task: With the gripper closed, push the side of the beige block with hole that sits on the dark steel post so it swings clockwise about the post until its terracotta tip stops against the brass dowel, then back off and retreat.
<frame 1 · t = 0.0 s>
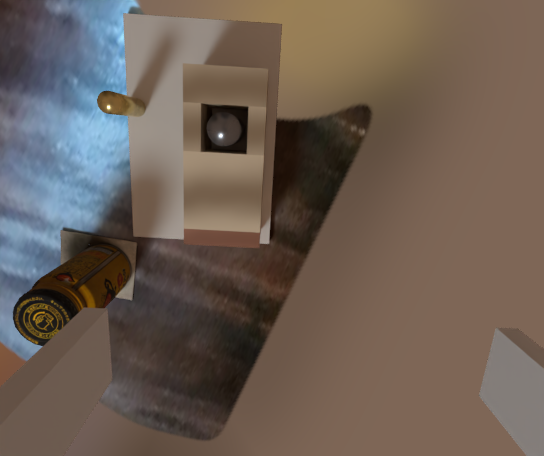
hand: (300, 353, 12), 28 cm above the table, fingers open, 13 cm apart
base board: (203, 137, 37), on the table
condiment: (99, 264, 41), on the table
beige block with hole: (227, 159, 34), point 4 cm above the table, hinge at 0.0°
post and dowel: (232, 129, 37), resting on base board
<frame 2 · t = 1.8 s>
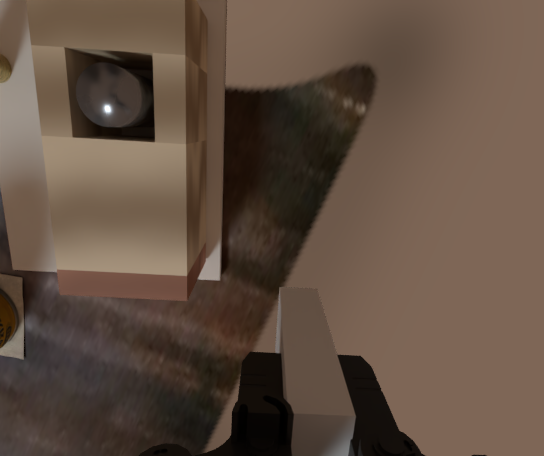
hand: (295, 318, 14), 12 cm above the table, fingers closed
base board: (111, 118, 24), on the table
beige block with hole: (136, 151, 20), point 4 cm above the table, hinge at 0.0°
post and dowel: (156, 105, 24), resting on base board
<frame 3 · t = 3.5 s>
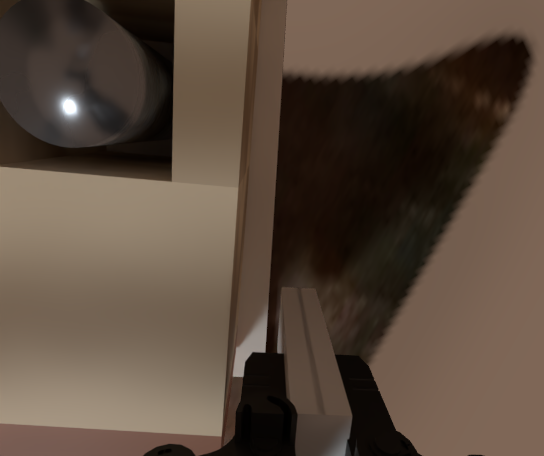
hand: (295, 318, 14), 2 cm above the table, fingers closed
base board: (92, 124, 14), on the table
beige block with hole: (131, 186, 11), point 4 cm above the table, hinge at 1.9°, touching gripper
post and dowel: (166, 103, 14), resting on base board
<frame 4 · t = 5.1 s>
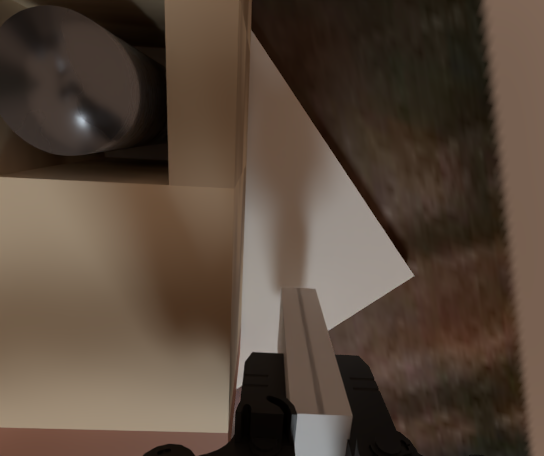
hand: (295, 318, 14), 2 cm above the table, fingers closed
base board: (123, 171, 15), on the table
beige block with hole: (130, 191, 11), point 4 cm above the table, hinge at 39.0°, touching gripper
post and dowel: (162, 107, 14), resting on base board
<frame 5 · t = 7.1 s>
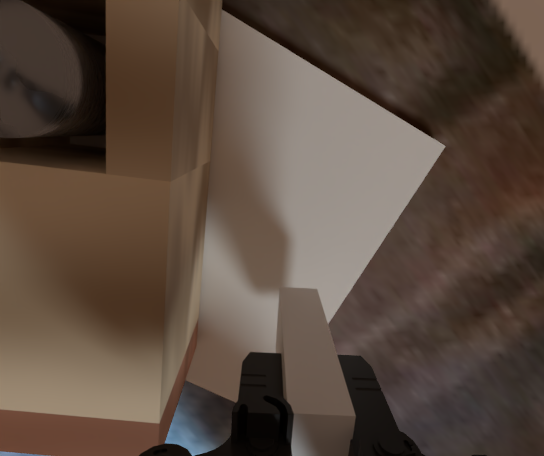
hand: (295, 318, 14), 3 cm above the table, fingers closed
base board: (126, 175, 15), on the table
beige block with hole: (83, 178, 11), point 4 cm above the table, hinge at 68.1°
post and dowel: (131, 98, 14), resting on base board
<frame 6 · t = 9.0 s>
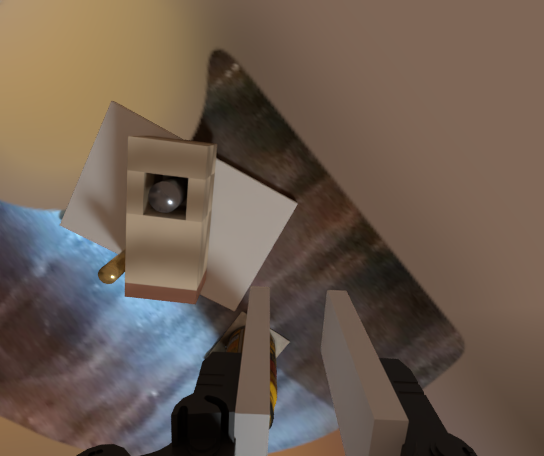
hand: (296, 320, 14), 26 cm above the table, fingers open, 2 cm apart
base board: (179, 213, 40), on the table
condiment: (247, 349, 45), on the table
beige block with hole: (172, 218, 36), point 4 cm above the table, hinge at 68.1°
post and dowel: (183, 185, 39), resting on base board
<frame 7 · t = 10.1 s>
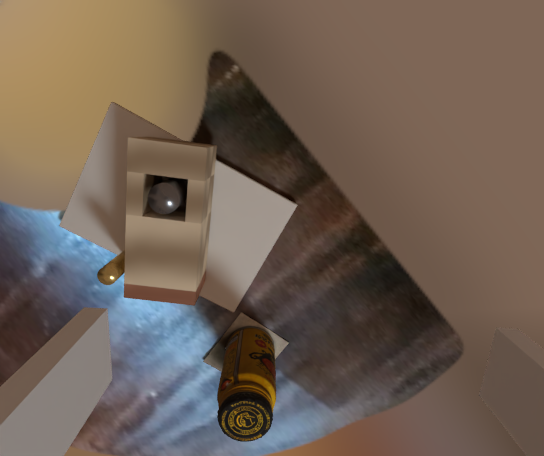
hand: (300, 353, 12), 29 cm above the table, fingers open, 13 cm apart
base board: (179, 214, 40), on the table
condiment: (246, 350, 45), on the table
beige block with hole: (171, 219, 36), point 4 cm above the table, hinge at 68.1°
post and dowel: (182, 186, 39), resting on base board
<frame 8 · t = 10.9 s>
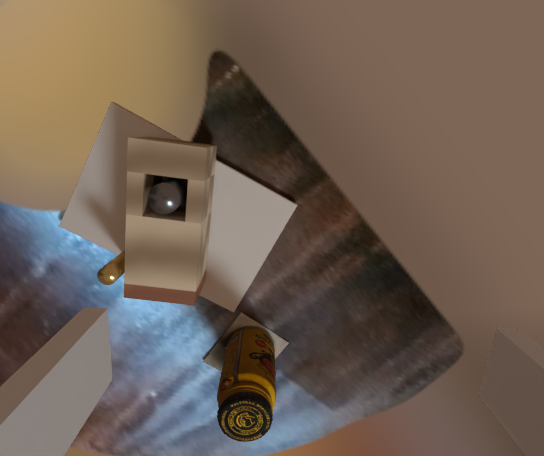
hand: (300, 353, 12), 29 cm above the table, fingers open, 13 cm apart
base board: (179, 214, 40), on the table
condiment: (246, 350, 45), on the table
beige block with hole: (171, 219, 36), point 4 cm above the table, hinge at 68.1°
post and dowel: (182, 186, 39), resting on base board
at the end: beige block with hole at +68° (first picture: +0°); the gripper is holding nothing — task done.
